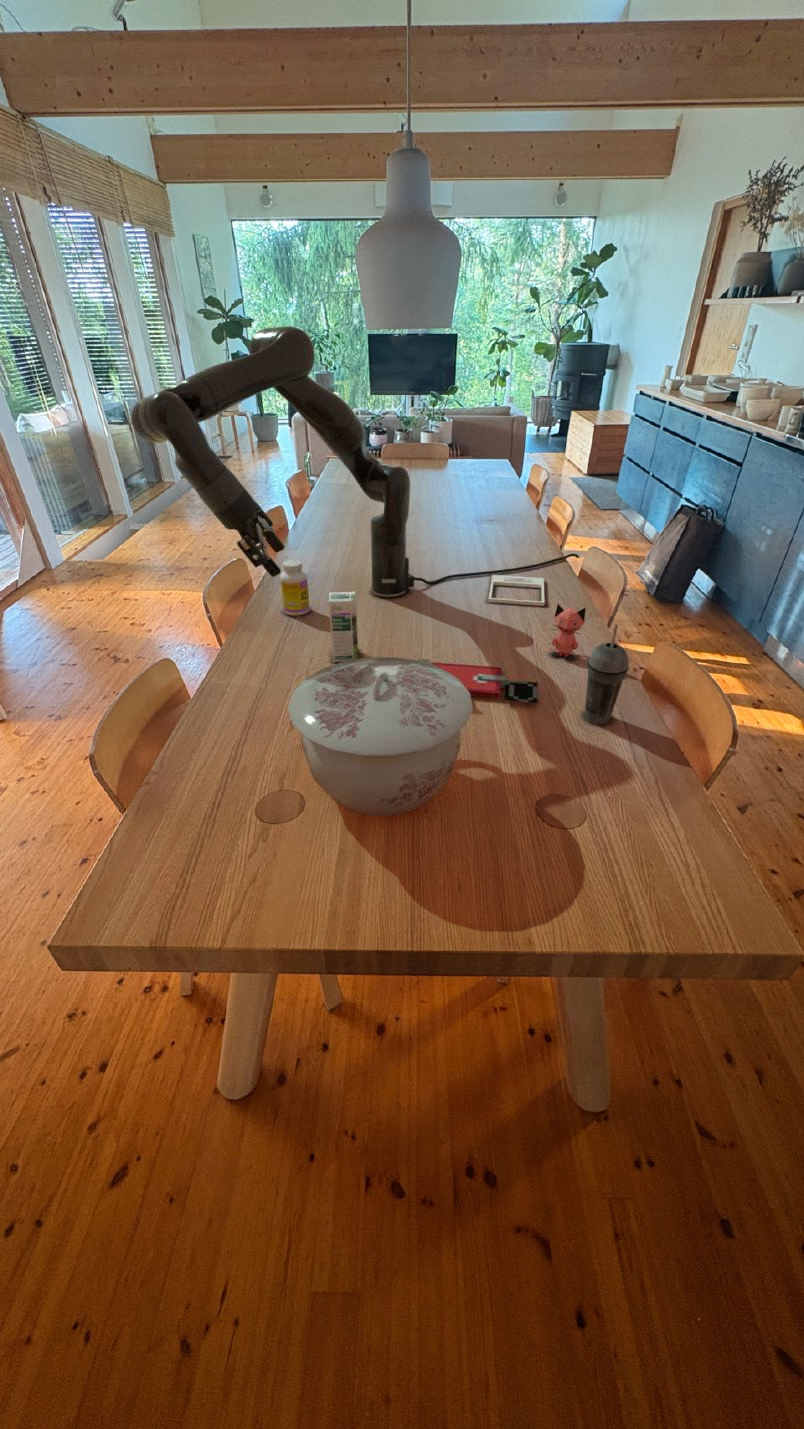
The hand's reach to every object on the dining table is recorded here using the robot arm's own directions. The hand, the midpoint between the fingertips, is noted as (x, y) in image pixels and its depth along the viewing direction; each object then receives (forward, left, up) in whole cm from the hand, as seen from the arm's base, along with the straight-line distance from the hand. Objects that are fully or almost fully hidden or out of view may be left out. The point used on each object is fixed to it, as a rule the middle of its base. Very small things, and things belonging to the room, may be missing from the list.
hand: (278, 561), depth 126 cm
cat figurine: (-55, +28, -23) cm, 66 cm away
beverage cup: (-43, +51, -23) cm, 70 cm away
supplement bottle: (-11, -24, -23) cm, 35 cm away
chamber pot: (+2, +49, -23) cm, 54 cm away
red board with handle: (-27, +29, -23) cm, 46 cm away
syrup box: (-12, +4, -23) cm, 26 cm away
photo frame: (-69, -7, -23) cm, 73 cm away
